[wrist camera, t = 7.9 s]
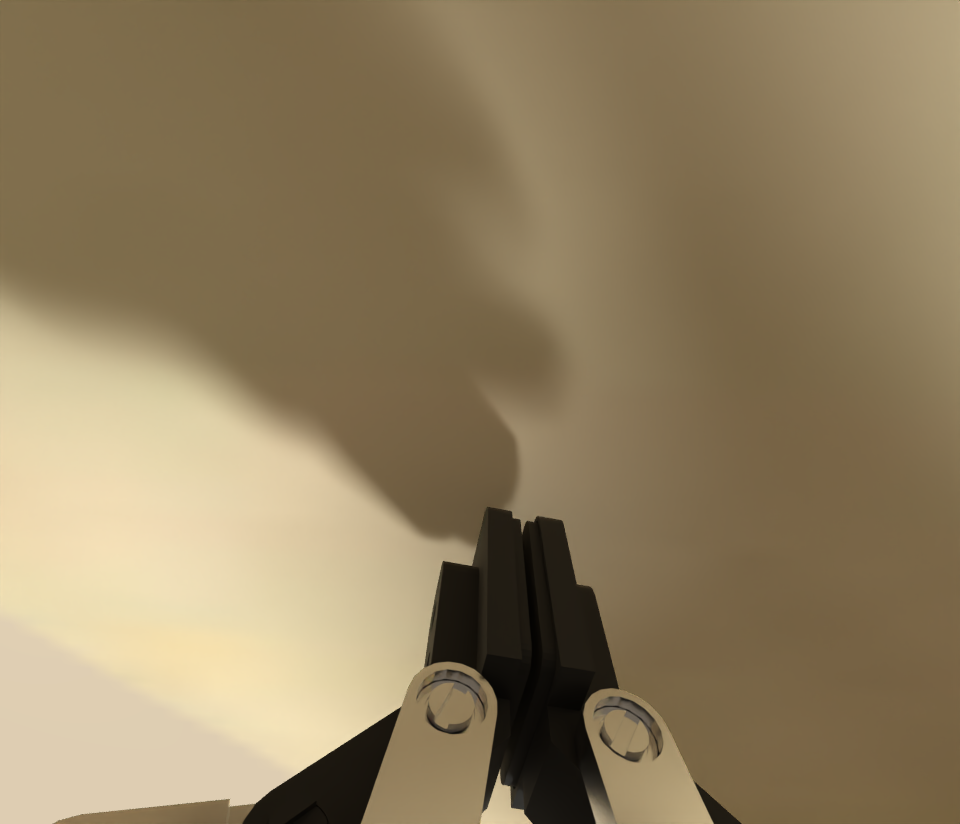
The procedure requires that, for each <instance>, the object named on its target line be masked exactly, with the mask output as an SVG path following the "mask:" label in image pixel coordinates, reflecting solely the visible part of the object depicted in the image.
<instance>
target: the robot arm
mask: <svg viewBox="0 0 960 824" xmlns="http://www.w3.org/2000/svg"><path fill="white" fill-rule="evenodd" d="M499 770H500V776H501V783H502V785H507V786H511V808H516V809H523V810H524V814H525V815H526V816H527V817H528V819H529V820H530V821H531V822H532V823H533V824H741V823H740V822H739V821H738V820H737V819H736V818H735V817H733V816H732V815H731V814H730V813H729V812H728V811H727V810H726V809H724V808H723V807H722V806H721V805H720V804H719V803H718V802H717V801H716V800H714V799H713V798H712V797H711V796H710V795H709V794H708V793H707V792H705V791H704V790H703V789H702V788H701V787H700V786H699V785H698V784H697V783H695V782H694V781H693V779H692V777H691V775H690V773H689V771H688V769H687V766H686V764H685V762H684V760H683V758H682V756H681V754H680V752H679V750H678V747H677V745H676V743H675V741H674V739H673V737H672V735H671V733H670V730H669V728H668V727H667V725H666V724H665V722H664V720H663V719H662V717H661V716H660V715H659V713H658V712H657V711H656V710H655V709H654V708H653V707H652V706H651V705H650V704H648V703H647V702H646V701H644V700H643V699H641V698H640V697H638V696H636V695H634V694H632V693H629V692H627V691H625V690H619V687H618V683H617V680H616V676H615V672H614V668H613V664H612V660H611V656H610V652H609V648H608V644H607V640H606V637H605V633H604V629H603V625H602V621H601V617H600V613H599V609H598V605H597V601H596V597H595V594H594V591H593V589H592V588H591V587H589V586H583V585H577V584H576V579H575V575H574V570H573V565H572V561H571V556H570V551H569V547H568V542H567V538H566V533H565V528H564V524H563V521H561V520H556V519H551V518H545V517H540V516H537V517H536V519H535V521H534V522H530V521H527V522H526V524H525V526H524V530H523V534H522V532H521V522H520V520H519V519H514V518H512V512H511V511H507V510H501V509H496V508H490V507H487V508H486V511H485V515H484V519H483V523H482V527H481V531H480V535H479V539H478V544H477V548H476V552H475V556H474V560H473V564H472V566H468V565H462V564H457V563H451V562H445V561H443V563H442V567H441V571H440V576H439V581H438V585H437V590H436V595H435V600H434V606H433V612H432V617H431V624H430V630H429V637H428V645H427V652H426V659H425V666H424V668H423V669H422V670H421V671H420V672H419V673H418V674H416V675H415V676H414V678H413V680H412V681H411V683H410V685H409V687H408V690H407V692H406V695H405V698H404V701H403V704H402V707H400V708H399V709H397V710H396V711H394V712H392V713H391V714H389V715H388V716H386V717H385V718H383V719H382V720H380V721H378V722H377V723H375V724H374V725H372V726H371V727H369V728H368V729H366V730H365V731H363V732H361V733H360V734H358V735H357V736H355V737H354V738H352V739H351V740H349V741H348V742H346V743H344V744H343V745H341V746H340V747H338V748H337V749H335V750H334V751H332V752H330V753H329V754H327V755H326V756H324V757H323V758H321V759H320V760H318V761H317V762H315V763H313V764H312V765H310V766H309V767H307V768H306V769H304V770H303V771H301V772H300V773H298V774H296V775H295V776H293V777H292V778H290V779H289V780H287V781H286V782H284V783H282V784H281V785H279V786H278V787H276V788H275V789H273V790H272V791H270V792H269V793H268V794H267V795H266V796H265V797H263V798H262V799H261V800H260V801H258V802H257V803H256V804H250V805H240V806H232V807H230V799H226V800H215V801H206V802H196V803H186V804H177V805H167V806H157V807H149V808H138V809H129V810H119V811H109V812H100V813H90V814H81V815H78V816H74V817H70V818H66V819H62V820H59V821H57V822H55V823H53V824H480V822H481V815H482V813H483V812H484V811H485V810H486V809H487V807H488V804H489V801H490V798H491V795H492V791H493V788H494V785H495V782H496V779H497V776H498V773H499Z"/></svg>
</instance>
